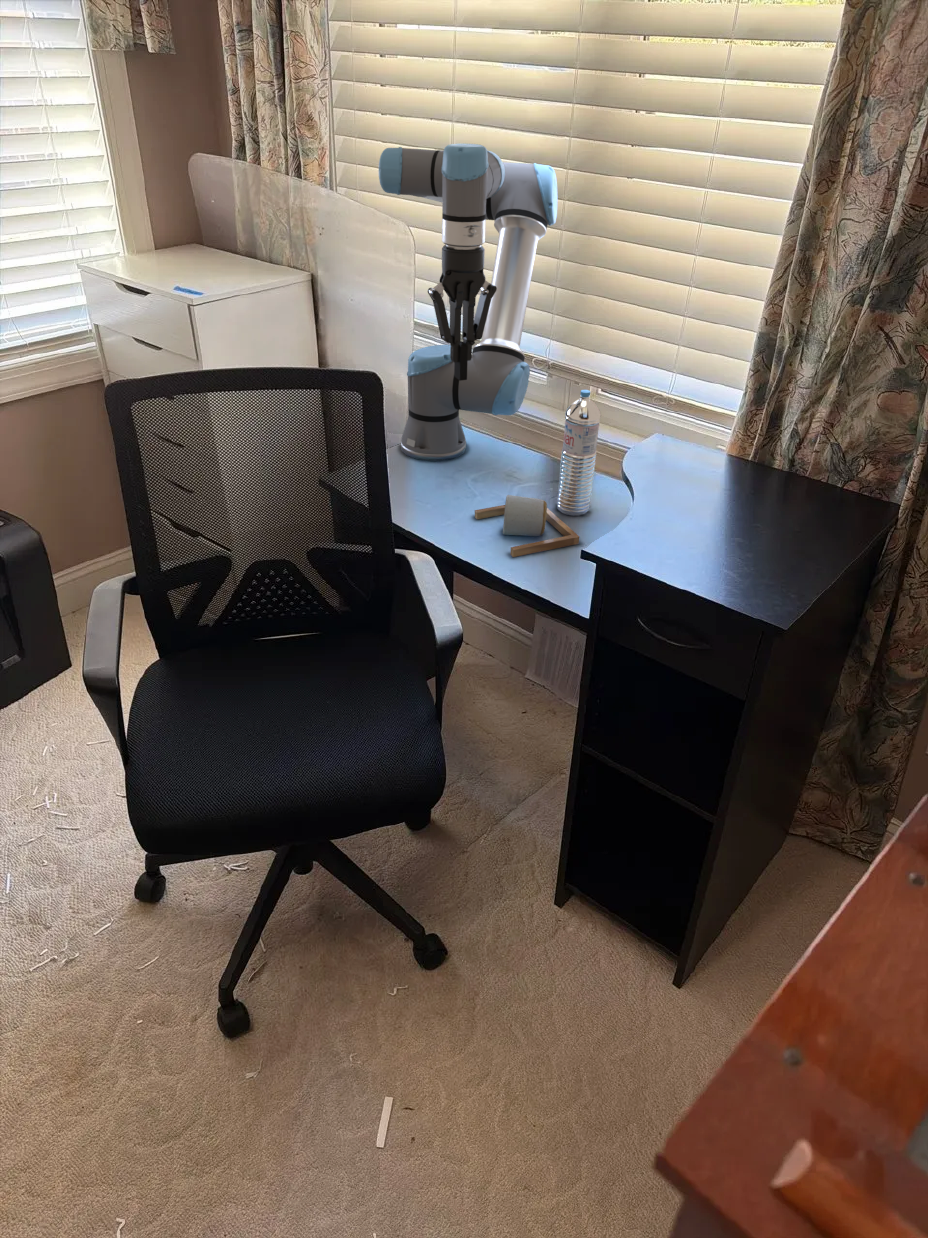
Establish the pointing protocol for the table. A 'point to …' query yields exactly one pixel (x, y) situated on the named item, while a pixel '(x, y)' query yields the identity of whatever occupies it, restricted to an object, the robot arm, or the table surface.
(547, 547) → the oak frame
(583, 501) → the water bottle
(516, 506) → the ceramic mug
